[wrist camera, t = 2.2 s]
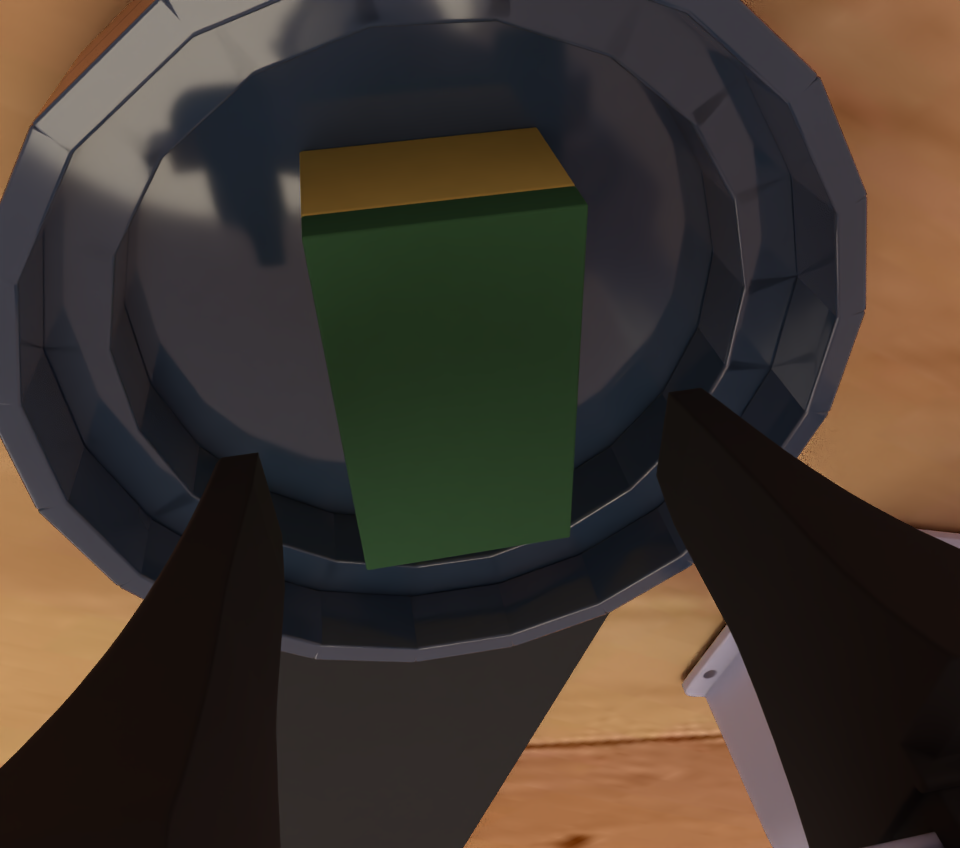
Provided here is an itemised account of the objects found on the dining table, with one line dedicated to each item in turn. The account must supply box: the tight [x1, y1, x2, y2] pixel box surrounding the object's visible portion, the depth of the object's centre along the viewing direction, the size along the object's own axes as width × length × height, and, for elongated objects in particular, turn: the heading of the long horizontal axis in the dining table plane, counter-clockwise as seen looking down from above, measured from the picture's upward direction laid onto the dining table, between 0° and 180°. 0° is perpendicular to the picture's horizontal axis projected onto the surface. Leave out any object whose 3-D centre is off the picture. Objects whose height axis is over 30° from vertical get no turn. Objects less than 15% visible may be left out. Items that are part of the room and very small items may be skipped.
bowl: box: [0, 0, 867, 663], centre depth 17 cm, size 16×16×4 cm
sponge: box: [300, 127, 588, 570], centre depth 17 cm, size 8×5×4 cm, turn 2°
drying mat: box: [276, 613, 609, 848], centre depth 30 cm, size 20×14×1 cm
